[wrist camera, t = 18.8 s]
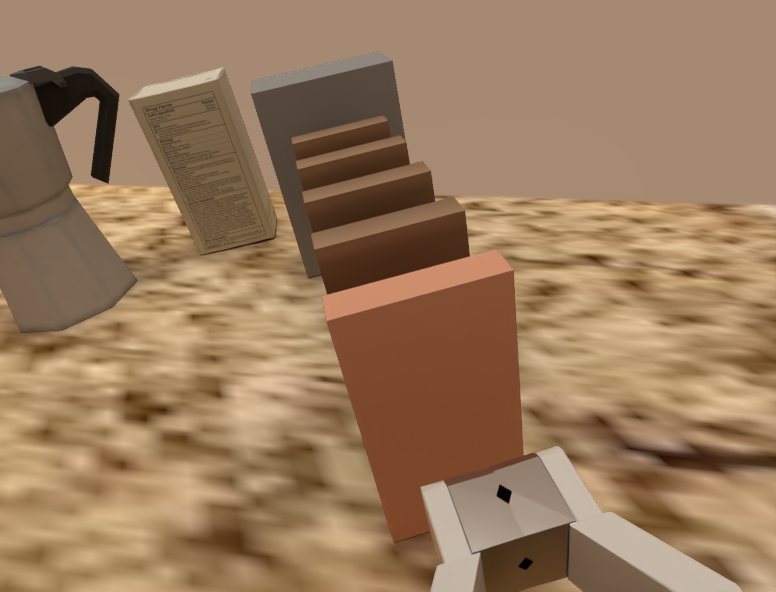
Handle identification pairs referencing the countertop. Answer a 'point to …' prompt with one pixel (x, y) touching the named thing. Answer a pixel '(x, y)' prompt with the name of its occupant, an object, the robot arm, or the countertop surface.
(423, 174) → the walnut domino
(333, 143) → the walnut domino
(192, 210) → the skincare box
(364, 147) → the walnut domino
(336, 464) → the countertop surface
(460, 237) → the walnut domino
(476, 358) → the terracotta domino
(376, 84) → the end block
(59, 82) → the coffee maker
